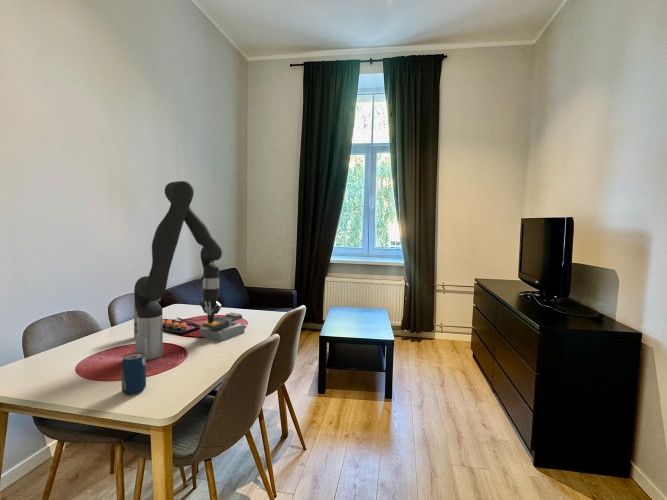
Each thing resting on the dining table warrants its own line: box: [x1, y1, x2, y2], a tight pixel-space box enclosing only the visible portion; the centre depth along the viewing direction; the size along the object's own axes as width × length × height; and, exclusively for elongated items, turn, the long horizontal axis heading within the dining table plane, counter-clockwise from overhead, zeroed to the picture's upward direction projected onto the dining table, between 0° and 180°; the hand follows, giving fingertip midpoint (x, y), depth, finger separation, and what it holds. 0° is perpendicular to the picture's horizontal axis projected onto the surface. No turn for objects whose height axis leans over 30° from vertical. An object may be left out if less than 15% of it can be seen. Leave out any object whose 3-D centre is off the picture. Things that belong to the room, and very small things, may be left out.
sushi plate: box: [162, 317, 202, 334], centre depth 188 cm, size 29×30×4 cm
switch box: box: [199, 316, 246, 342], centre depth 172 cm, size 16×14×8 cm
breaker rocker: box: [201, 311, 243, 329], centre depth 172 cm, size 19×8×2 cm, turn 152°
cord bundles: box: [222, 323, 241, 332], centre depth 172 cm, size 12×13×1 cm
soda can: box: [120, 352, 147, 396], centre depth 113 cm, size 7×7×12 cm
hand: (210, 322), depth 165 cm, fingers closed
